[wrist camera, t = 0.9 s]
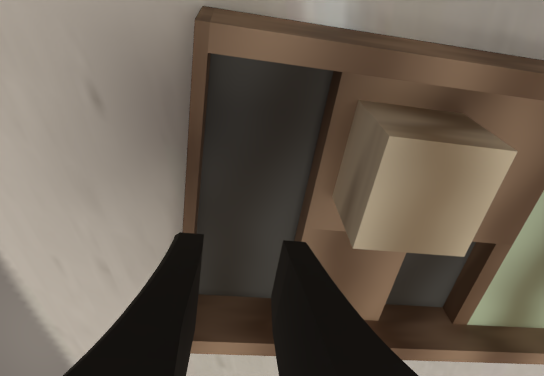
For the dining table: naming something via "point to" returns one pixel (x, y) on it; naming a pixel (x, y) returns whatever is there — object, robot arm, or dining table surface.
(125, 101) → the dining table surface
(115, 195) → the dining table surface
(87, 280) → the dining table surface
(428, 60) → the trap box
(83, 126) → the dining table surface
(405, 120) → the birch block
